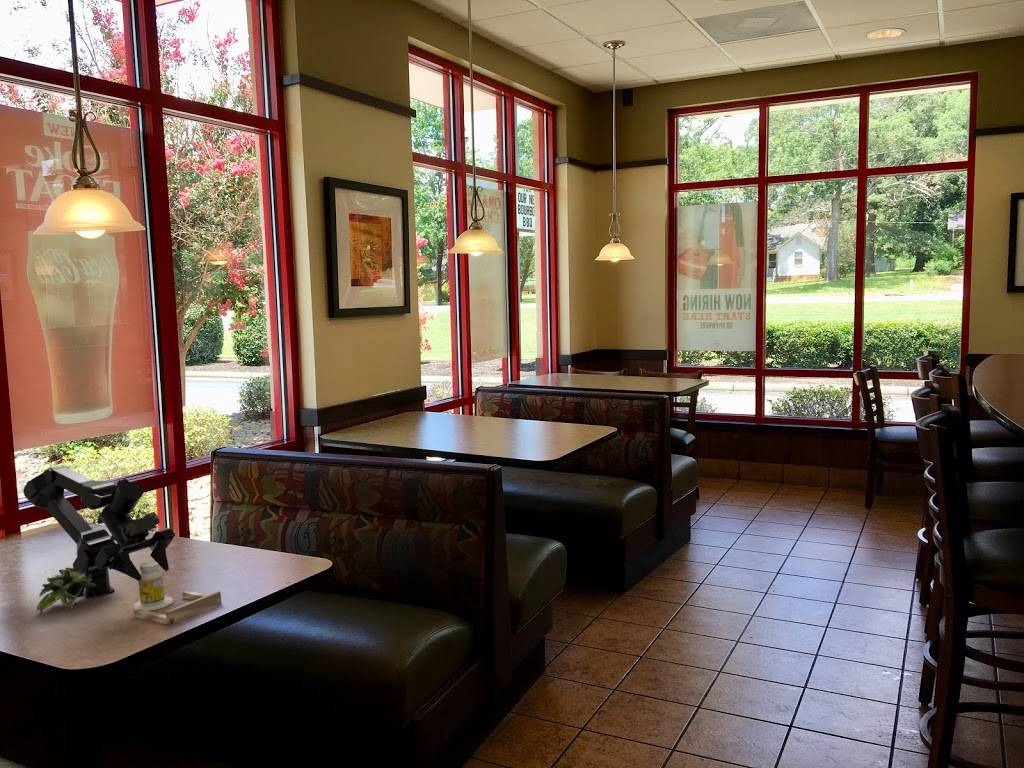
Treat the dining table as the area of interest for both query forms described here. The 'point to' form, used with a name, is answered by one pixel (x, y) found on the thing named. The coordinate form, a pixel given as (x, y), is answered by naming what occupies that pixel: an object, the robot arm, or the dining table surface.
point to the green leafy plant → (64, 588)
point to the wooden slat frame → (183, 608)
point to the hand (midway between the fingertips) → (154, 574)
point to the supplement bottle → (151, 585)
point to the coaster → (149, 608)
